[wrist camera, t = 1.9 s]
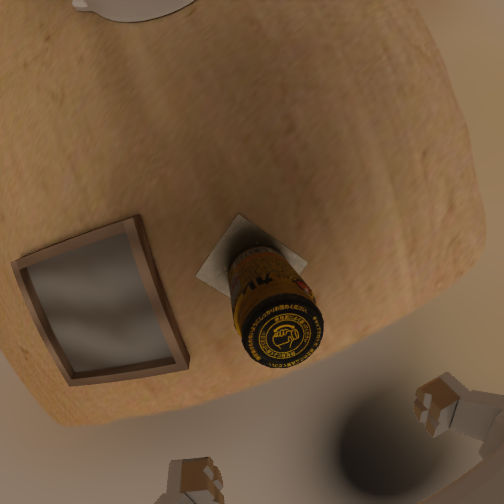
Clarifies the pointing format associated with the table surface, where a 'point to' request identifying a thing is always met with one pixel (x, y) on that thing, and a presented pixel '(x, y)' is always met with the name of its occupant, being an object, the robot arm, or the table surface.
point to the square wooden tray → (102, 306)
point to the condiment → (265, 295)
